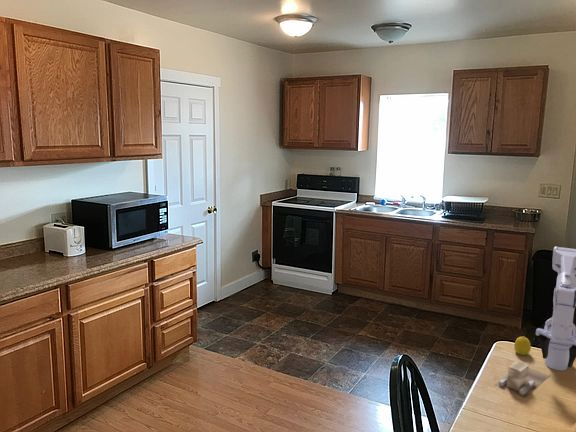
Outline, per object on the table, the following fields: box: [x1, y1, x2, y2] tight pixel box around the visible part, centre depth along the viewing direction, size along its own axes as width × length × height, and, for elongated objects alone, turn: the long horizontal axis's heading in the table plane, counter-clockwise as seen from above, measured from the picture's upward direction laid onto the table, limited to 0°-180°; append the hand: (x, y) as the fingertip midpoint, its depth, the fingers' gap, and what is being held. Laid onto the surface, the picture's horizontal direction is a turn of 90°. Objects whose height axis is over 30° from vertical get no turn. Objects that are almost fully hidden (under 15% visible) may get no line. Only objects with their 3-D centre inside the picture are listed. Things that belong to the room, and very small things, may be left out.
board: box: [494, 367, 550, 399], centre depth 161 cm, size 20×10×3 cm, turn 131°
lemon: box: [514, 335, 532, 356], centre depth 180 cm, size 6×6×8 cm
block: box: [507, 360, 530, 391], centre depth 158 cm, size 4×6×7 cm, turn 131°
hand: (557, 361), depth 156 cm, fingers open, 7 cm apart
